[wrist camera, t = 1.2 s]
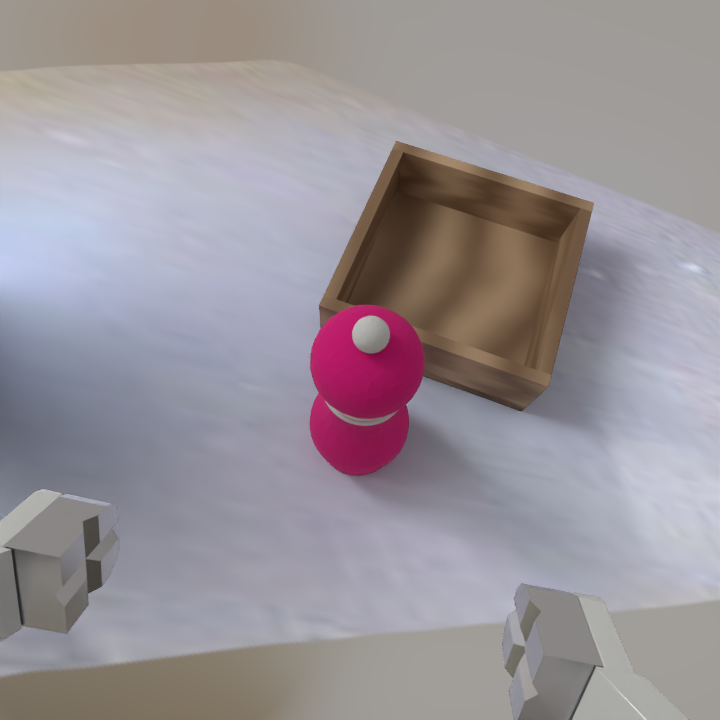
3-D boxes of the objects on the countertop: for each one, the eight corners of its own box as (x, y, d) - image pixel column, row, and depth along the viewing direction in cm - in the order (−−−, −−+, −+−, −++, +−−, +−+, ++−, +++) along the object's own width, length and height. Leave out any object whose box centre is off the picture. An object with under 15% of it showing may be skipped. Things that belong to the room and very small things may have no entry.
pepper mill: (384, 496, 40) (422, 427, 22) (298, 461, 41) (264, 367, 22) (413, 412, 43) (470, 288, 24) (332, 382, 44) (328, 239, 25)
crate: (321, 338, 45) (319, 305, 40) (390, 187, 52) (396, 140, 46) (521, 411, 43) (548, 386, 38) (565, 244, 50) (593, 202, 44)
